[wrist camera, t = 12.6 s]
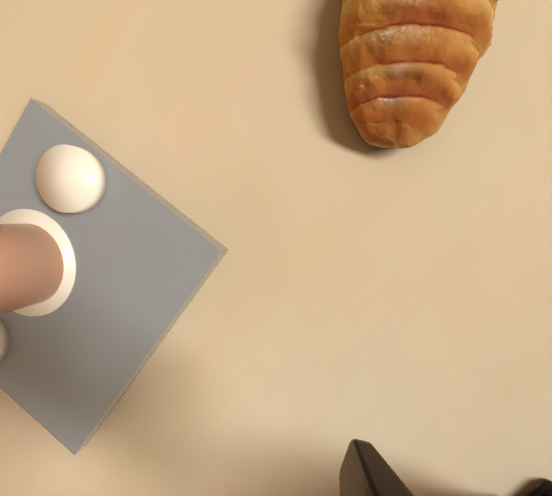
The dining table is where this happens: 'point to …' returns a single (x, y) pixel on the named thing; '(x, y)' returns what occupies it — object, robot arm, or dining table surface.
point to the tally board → (91, 275)
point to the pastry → (409, 63)
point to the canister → (27, 266)
